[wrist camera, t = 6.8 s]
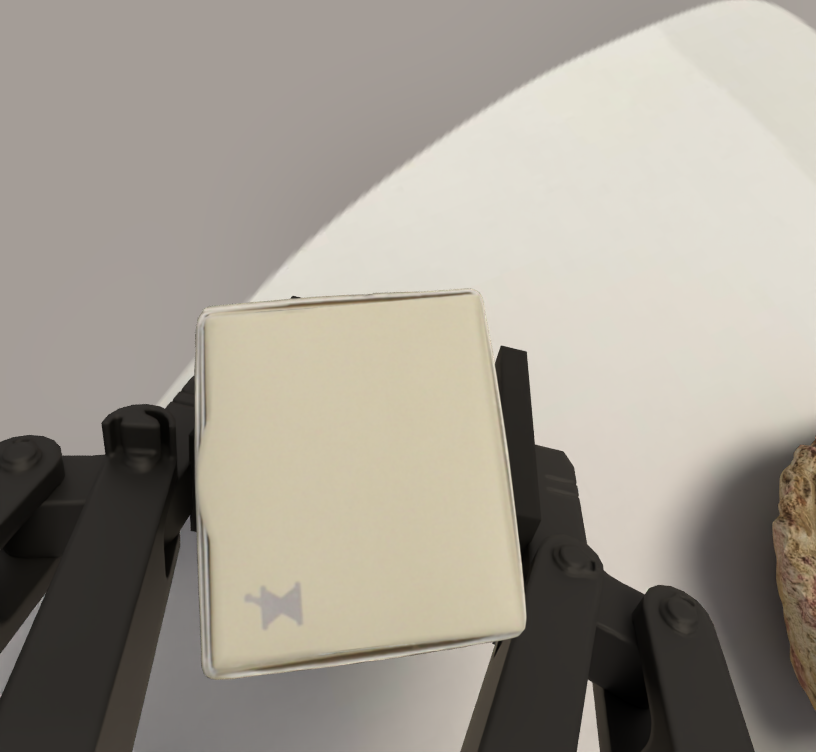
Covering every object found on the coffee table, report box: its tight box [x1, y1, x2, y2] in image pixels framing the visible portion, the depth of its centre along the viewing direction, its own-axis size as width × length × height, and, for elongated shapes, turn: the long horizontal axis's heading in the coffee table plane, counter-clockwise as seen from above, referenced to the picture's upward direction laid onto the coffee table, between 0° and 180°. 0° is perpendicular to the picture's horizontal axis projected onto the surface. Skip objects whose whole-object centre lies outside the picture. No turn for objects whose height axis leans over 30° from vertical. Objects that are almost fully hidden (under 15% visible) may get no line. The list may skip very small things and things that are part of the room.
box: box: [194, 288, 526, 680], centre depth 14 cm, size 5×4×13 cm
